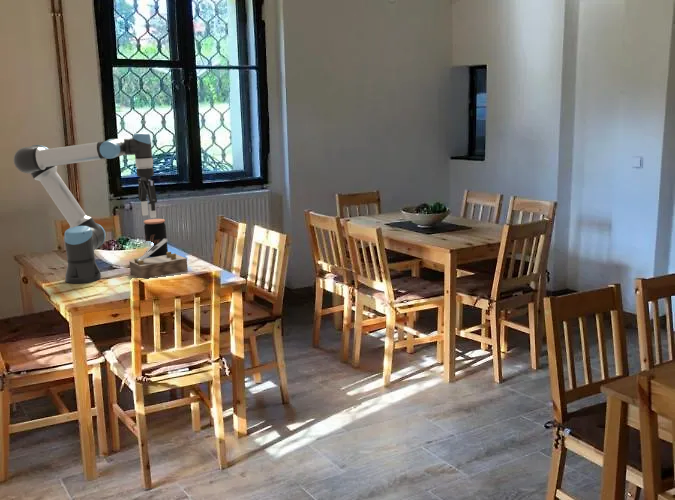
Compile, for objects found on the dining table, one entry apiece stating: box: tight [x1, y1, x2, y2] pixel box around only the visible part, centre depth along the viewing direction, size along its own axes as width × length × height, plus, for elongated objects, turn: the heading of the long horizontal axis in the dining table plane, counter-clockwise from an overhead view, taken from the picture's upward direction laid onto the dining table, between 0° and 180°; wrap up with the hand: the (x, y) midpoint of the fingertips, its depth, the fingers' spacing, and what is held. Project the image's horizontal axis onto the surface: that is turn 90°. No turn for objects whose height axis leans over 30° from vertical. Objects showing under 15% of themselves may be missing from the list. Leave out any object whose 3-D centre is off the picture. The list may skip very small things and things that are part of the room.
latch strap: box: [136, 238, 169, 262], centre depth 325 cm, size 17×3×2 cm
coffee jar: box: [143, 218, 169, 258], centre depth 364 cm, size 11×11×18 cm
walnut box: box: [129, 251, 188, 279], centre depth 328 cm, size 22×14×8 cm, turn 126°
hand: (149, 216), depth 328 cm, fingers open, 9 cm apart
